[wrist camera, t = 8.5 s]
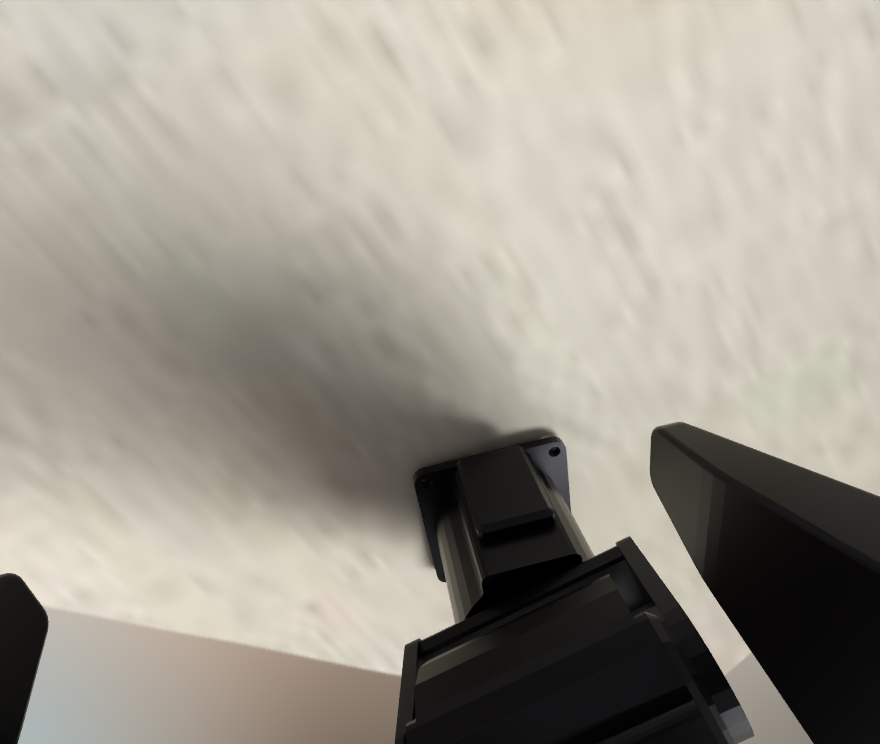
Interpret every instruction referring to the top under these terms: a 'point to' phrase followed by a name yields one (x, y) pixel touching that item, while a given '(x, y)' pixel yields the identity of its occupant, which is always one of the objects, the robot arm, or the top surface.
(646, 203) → the top surface
